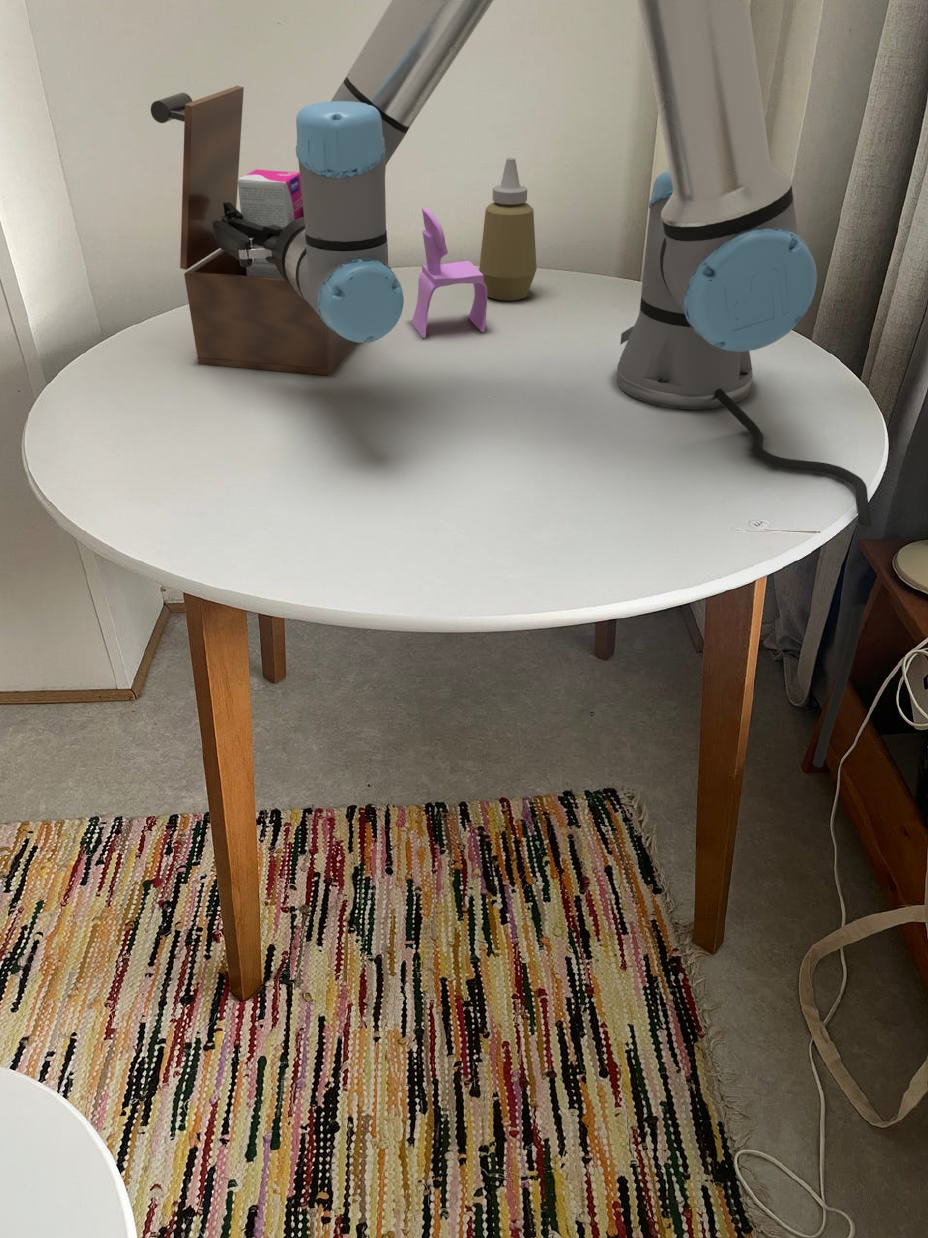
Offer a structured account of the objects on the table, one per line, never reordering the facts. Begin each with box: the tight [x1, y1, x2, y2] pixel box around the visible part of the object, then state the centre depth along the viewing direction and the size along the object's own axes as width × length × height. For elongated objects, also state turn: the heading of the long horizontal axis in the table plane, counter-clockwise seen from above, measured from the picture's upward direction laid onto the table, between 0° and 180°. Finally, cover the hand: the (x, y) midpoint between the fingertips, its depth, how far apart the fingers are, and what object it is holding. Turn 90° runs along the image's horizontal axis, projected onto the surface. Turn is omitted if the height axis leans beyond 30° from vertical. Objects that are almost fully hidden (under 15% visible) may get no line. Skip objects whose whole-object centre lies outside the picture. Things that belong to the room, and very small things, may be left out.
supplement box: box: [237, 169, 304, 279], centre depth 115 cm, size 6×6×12 cm
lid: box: [150, 85, 245, 271], centre depth 114 cm, size 17×14×6 cm
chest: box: [183, 249, 358, 376], centre depth 121 cm, size 17×14×11 cm
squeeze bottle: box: [478, 157, 538, 301], centre depth 137 cm, size 8×8×18 cm
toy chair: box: [411, 207, 488, 339], centre depth 127 cm, size 8×9×15 cm
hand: (262, 211), depth 119 cm, fingers closed on supplement box, 8 cm apart
